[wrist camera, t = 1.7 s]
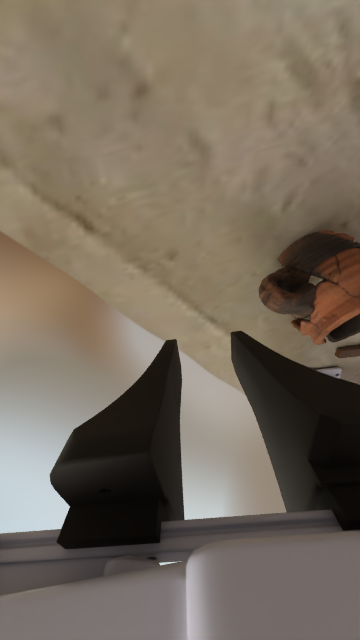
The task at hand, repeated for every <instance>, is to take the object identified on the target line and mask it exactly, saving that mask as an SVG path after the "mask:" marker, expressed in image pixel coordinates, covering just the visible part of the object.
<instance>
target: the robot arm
mask: <svg viewBox="0 0 360 640" xmlns="http://www.w3.org/2000/svg"><path fill="white" fill-rule="evenodd" d="M231 358H232V363H233V366H234V369H235V372H236V375H237V377H238V379H239V381H240V384H241V386H242V388H243V390H244V392H245V394H246V396H247V398H248V401H249V403H250V405H251V407H252V409H253V412H254V414H255V416H256V419H257V422H258V425H259V428H260V430H261V433H262V436H263V439H264V442H265V445H266V448H267V450H268V454H269V456H270V460H271V463H272V466H273V469H274V472H275V475H276V478H277V482H278V485H279V488H280V491H281V495H282V498H283V501H284V504H285V508H286V511H287V513H275V514H260V515H248V516H247V515H246V516H234V517H219V518H206V519H194V520H193V519H192V520H184V505H183V487H182V468H181V446H180V445H181V444H180V404H181V387H182V374H181V363H180V357H179V352H178V346H177V340H176V339H174V340H166V342H165V343H164V345H163V346H162V348H161V350H160V351H159V353H158V354H157V356H156V357H155V359H154V360H153V362H152V363H151V365H150V366H149V367H148V368H147V370H146V371H145V372H144V374H143V375H142V376H141V377H140V378H139V379H138V380H137V381H136V382H135V383H134V384H133V385H132V386H131V387H130V388H129V389H128V390H127V391H126V392H125V393H124V394H123V395H121V396H120V397H119V398H118V399H117V400H115V401H114V402H113V403H112V404H110V405H109V406H108V407H106V408H105V409H104V410H102V411H101V412H100V413H98V414H97V415H95V416H94V417H92V418H91V419H89V420H88V421H86V422H85V423H83V424H82V425H80V426H79V427H77V428H76V429H74V430H73V432H72V434H71V435H70V437H69V439H68V441H67V442H66V444H65V446H64V448H63V450H62V452H61V454H60V456H59V458H58V460H57V462H56V463H55V466H54V467H53V469H52V471H51V473H50V481H51V484H52V485H53V487H54V489H55V490H56V491H57V492H58V493H59V495H60V496H61V497H62V498H63V499H64V500H65V501H66V502H67V503H68V505H69V506H70V508H69V511H68V514H67V516H66V519H65V521H64V524H63V526H62V529H57V530H43V531H29V532H16V533H2V534H0V640H360V385H359V384H356V383H352V382H349V381H346V380H342V379H340V375H341V372H342V370H341V369H340V368H338V367H336V368H327V369H319V370H313V369H311V368H308V367H306V366H303V365H301V364H299V363H297V362H294V361H292V360H290V359H288V358H286V357H284V356H282V355H280V354H278V353H276V352H275V351H273V350H271V349H269V348H268V347H266V346H264V345H263V344H261V343H259V342H258V341H256V340H255V339H253V338H252V337H250V336H249V335H247V334H245V333H244V332H242V331H237V332H231ZM177 561H182V562H177ZM161 562H177V563H172V564H166V565H161V566H160V564H159V563H161Z"/></svg>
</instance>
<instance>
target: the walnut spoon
mask: <svg viewBox="0 0 360 640" xmlns="http://www.w3.org/2000/svg"><path fill="white" fill-rule="evenodd" d="M335 355H336V356H337V357H338V358H347V357H355V356H360V345H357V346H349V347H340V348H337V350H336V354H335Z"/></svg>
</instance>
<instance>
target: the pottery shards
mask: <svg viewBox="0 0 360 640" xmlns="http://www.w3.org/2000/svg"><path fill="white" fill-rule="evenodd" d="M278 261H279V262H281V263H282V265H283V266H284V268H281V269H279V270H277V271H276V272H275V273H272V274H270V275H268V276H267V277H266V278H264V279H263V280H262V282H261V285H260V287H259V297H260V299H261V301H262V302H263V304H264V305H265V306H266V307H267V308H268V309H270V310H272V311H274V312H276V313H280V314H290V315H292V316H295V317H297V318H298V319H296V320H293V321H292V322H291V323H292V324H293V326H294V328H297V329H298V330H299V331H301V332H302V334H303V335H308V336H310V337H311V338H312V340H313V342H314V344H317V345H321V344H324V343H326V339H325V337H327V338H328V339H329V341H331V342H337V341H340V340H343V339H346V338H348V337H350V336H352V335H355V334H357V333H359V332H360V244H359V243H357V242H354V238H353V237H352V236H350V235H348V234H344V233H335V232H333V231H329V230H324V231H318V232H314V233H312V234H309V235H307V236H304V237H303V238H301V239H300V240H298V241H296V242H294V243H293V244H292V245H290V246H289V247H288V248H287V250H285V251H284V252H283V253H282V254H281V255H280V257H279V258H278ZM311 275H313V276H317V277H319V278H322V279H323V281H321V282H319V283H318V284H317V285H316V286H314V285H313V284H311V283H308V282H309V278H310V276H311ZM309 314H310V315H311V318H310V320H306V319H301V318H304V317H306V316H307V315H309Z"/></svg>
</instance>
